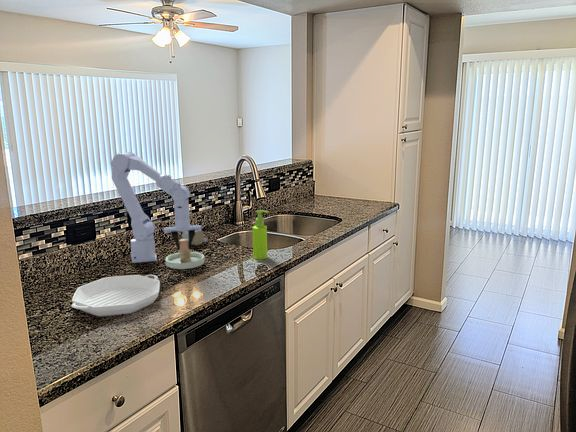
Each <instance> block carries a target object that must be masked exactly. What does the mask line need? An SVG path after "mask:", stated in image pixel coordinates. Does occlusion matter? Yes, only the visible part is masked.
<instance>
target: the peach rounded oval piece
mask: <svg viewBox="0 0 576 432" xmlns="http://www.w3.org/2000/svg"><path fill="white" fill-rule="evenodd" d="M178 243H179V250H178V253H180V252H181V251H190V249H189V240H188V239H183V238H181V239H178Z"/></svg>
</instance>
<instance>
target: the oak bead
mask: <svg viewBox="0 0 576 432" xmlns="http://www.w3.org/2000/svg"><path fill="white" fill-rule="evenodd" d="M191 252H192V251H190V250H189V251H181V252H180V261H181V263H187V262H191Z"/></svg>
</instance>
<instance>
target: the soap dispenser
mask: <svg viewBox="0 0 576 432" xmlns="http://www.w3.org/2000/svg"><path fill="white" fill-rule="evenodd" d="M255 213H257V217H256V218H255V225H253V226H252V258H253V259H255V260H265V259H267V258H268V226H267V225H265V220H264V219H265V218H264V217H263V216H262V214H264V213H265V214H269V213H270V211H269V210H265V209H258V210H255Z"/></svg>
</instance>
